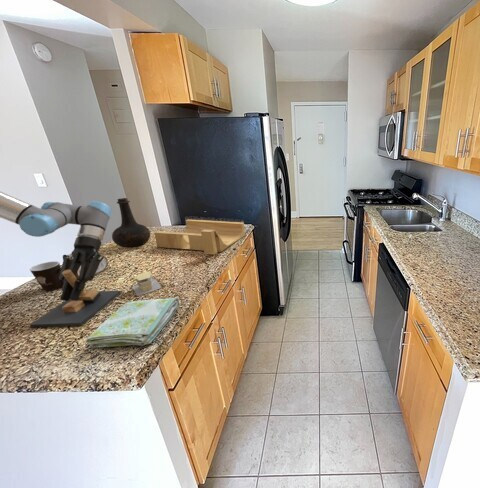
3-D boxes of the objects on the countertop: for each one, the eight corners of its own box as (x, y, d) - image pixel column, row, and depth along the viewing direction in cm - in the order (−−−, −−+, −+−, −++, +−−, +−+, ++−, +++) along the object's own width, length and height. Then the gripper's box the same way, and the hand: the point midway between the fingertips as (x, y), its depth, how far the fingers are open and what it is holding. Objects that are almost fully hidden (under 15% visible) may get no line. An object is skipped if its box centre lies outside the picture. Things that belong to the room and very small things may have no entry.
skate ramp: (245, 236, 170) (243, 212, 164) (214, 257, 137) (210, 228, 132) (190, 232, 176) (186, 209, 171) (149, 252, 144) (142, 224, 138)
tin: (105, 267, 127) (100, 251, 124) (111, 267, 127) (105, 251, 124) (74, 282, 113) (67, 265, 110) (80, 283, 113) (73, 265, 110)
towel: (85, 351, 77) (79, 337, 75) (131, 308, 96) (127, 296, 94) (149, 348, 77) (144, 335, 76) (181, 306, 97) (178, 294, 95)
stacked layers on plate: (162, 287, 110) (159, 276, 107) (137, 296, 104) (133, 284, 102) (155, 279, 116) (152, 268, 114) (131, 286, 110) (128, 275, 108)
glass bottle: (108, 249, 148) (91, 200, 137) (137, 238, 164) (124, 194, 153) (132, 253, 143) (116, 203, 132) (159, 241, 159) (148, 196, 148)
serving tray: (30, 327, 86) (29, 324, 86) (79, 294, 105) (78, 291, 104) (81, 325, 87) (80, 322, 87) (121, 293, 106) (120, 290, 105)
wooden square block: (64, 312, 92) (61, 307, 91) (73, 306, 95) (71, 300, 94) (76, 312, 92) (73, 306, 91) (85, 305, 96) (82, 300, 95)
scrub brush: (71, 303, 97) (49, 275, 89) (79, 295, 100) (58, 268, 92) (94, 302, 97) (74, 275, 89) (101, 295, 101) (82, 267, 93)
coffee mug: (35, 290, 108) (24, 268, 104) (60, 280, 115) (51, 260, 111) (51, 295, 104) (41, 273, 100) (77, 285, 111) (68, 264, 108)
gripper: (117, 242, 105) (100, 301, 95) (76, 243, 104) (55, 302, 94) (103, 234, 98) (83, 297, 88) (59, 235, 97) (35, 298, 87)
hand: (69, 299), depth 91 cm, fingers closed on scrub brush, 2 cm apart
